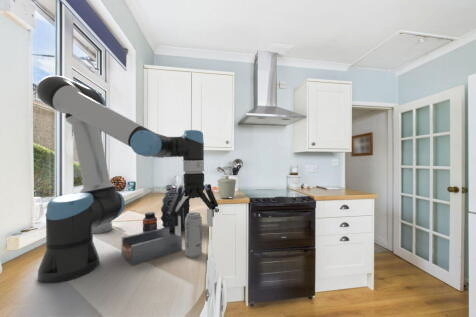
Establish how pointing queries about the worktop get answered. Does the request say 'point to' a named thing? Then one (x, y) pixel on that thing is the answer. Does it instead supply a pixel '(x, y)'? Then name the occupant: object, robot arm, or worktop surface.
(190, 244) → the energy drink can
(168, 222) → the black thick disc
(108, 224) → the engine component
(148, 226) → the supplement bottle
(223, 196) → the canister
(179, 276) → the worktop surface
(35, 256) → the worktop surface
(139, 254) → the channel
